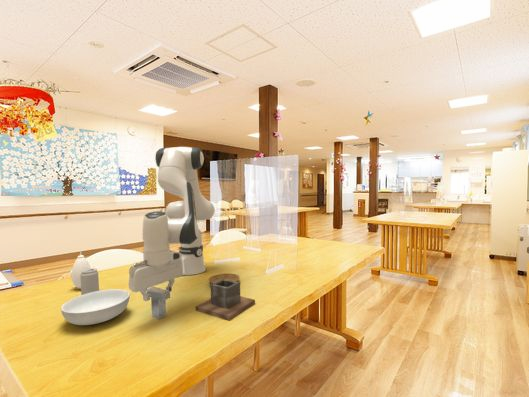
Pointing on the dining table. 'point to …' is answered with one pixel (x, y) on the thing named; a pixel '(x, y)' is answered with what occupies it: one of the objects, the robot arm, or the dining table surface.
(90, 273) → the beverage can
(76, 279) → the sauce bottle
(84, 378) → the dining table surface
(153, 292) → the grey t-shaped peg
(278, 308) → the dining table surface
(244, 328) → the dining table surface
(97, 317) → the serving bowl
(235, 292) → the square pot on base
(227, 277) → the plant saucer
